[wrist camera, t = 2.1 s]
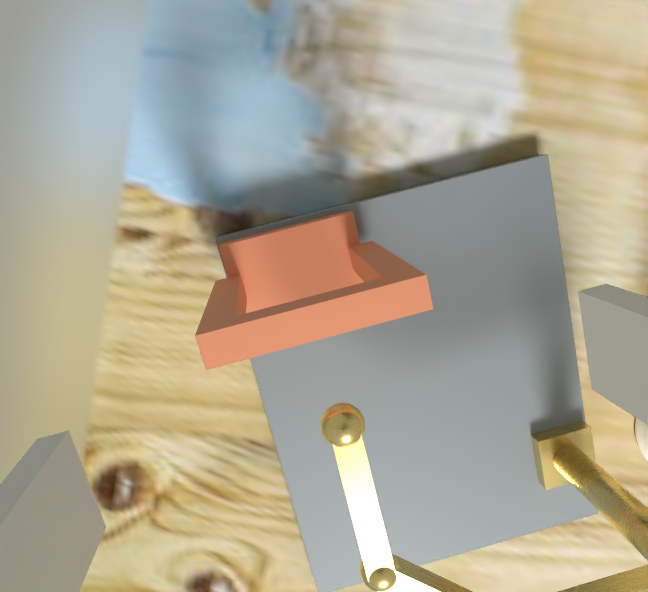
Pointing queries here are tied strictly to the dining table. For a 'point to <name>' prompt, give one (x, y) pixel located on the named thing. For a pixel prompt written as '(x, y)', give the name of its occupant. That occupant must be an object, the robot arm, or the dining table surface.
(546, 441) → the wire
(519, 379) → the board
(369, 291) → the orange rectangular frame
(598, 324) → the robot arm
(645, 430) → the mug
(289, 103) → the dining table surface
